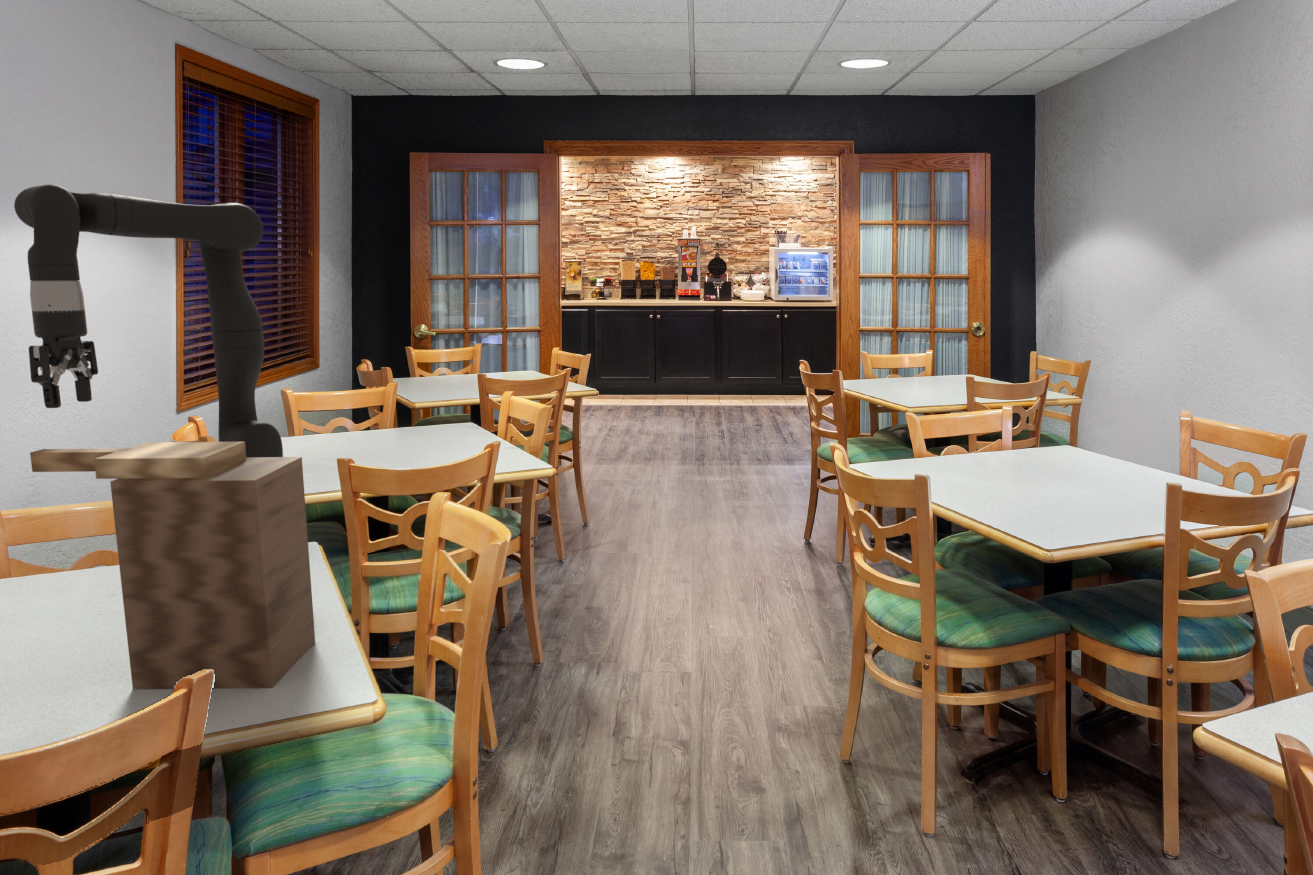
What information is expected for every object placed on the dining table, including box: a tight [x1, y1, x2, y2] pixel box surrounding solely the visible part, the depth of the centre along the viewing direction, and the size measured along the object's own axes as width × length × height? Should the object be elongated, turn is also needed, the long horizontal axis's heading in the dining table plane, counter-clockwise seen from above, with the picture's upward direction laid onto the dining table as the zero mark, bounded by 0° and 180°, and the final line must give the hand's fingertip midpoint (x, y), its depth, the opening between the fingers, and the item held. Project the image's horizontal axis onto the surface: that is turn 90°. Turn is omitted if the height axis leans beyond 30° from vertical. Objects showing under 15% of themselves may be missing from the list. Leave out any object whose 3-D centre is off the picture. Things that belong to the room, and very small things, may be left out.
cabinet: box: [110, 456, 316, 690], centre depth 145 cm, size 21×18×32 cm
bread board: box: [29, 441, 246, 480], centre depth 142 cm, size 29×14×3 cm, turn 90°
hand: (69, 404), depth 157 cm, fingers open, 8 cm apart
